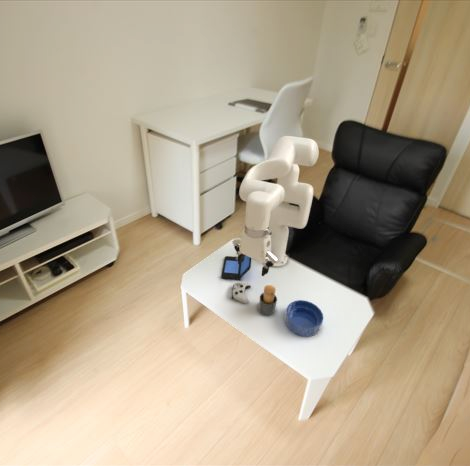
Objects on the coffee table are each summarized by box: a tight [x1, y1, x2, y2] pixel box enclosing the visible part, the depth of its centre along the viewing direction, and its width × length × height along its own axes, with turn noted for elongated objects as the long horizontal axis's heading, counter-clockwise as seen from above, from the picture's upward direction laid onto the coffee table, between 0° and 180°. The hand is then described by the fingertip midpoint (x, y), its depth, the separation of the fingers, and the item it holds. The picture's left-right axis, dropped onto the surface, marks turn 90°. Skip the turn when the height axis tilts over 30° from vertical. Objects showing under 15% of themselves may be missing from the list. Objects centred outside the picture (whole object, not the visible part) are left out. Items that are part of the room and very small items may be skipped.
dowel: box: [263, 284, 276, 304], centre depth 129 cm, size 4×4×12 cm
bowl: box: [284, 299, 324, 338], centre depth 126 cm, size 14×14×6 cm
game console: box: [220, 255, 252, 282], centre depth 150 cm, size 16×13×9 cm
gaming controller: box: [231, 281, 251, 305], centre depth 139 cm, size 11×6×7 cm
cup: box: [258, 292, 278, 316], centre depth 131 cm, size 7×7×7 cm
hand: (252, 268), depth 111 cm, fingers open, 9 cm apart
